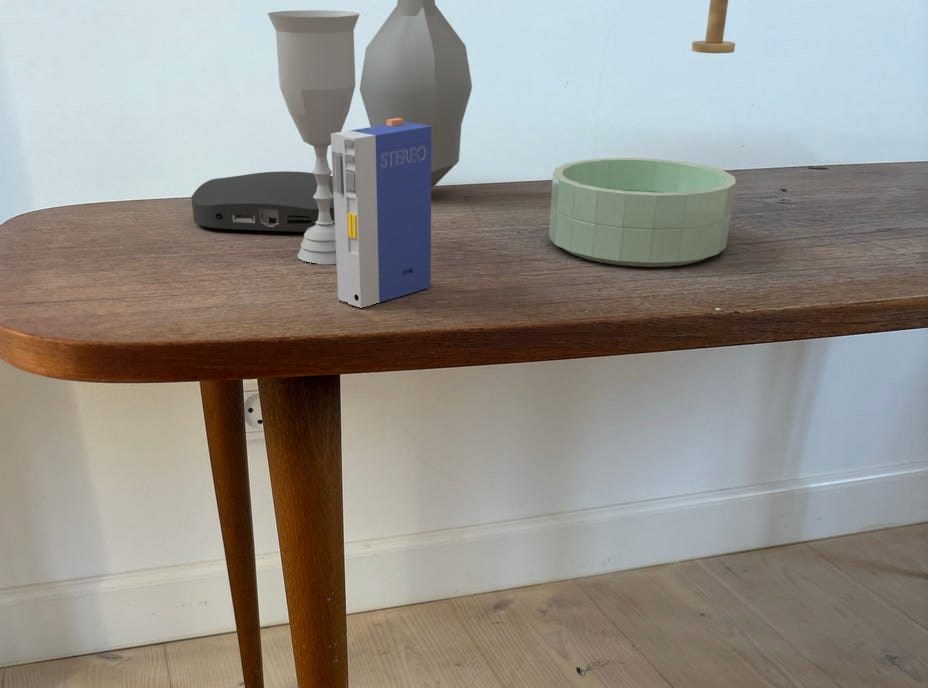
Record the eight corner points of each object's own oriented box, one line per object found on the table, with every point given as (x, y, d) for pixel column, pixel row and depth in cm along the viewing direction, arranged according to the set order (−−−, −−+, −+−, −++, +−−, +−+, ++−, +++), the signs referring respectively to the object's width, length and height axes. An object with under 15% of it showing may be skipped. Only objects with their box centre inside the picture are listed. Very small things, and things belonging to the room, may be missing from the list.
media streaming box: (365, 202, 108) (364, 170, 106) (339, 237, 96) (338, 202, 94) (226, 197, 109) (223, 166, 107) (183, 231, 97) (178, 197, 95)
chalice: (324, 241, 95) (312, 8, 84) (384, 254, 91) (378, 13, 81) (267, 259, 90) (247, 13, 79) (328, 272, 86) (315, 18, 76)
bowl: (744, 238, 97) (755, 169, 94) (694, 280, 86) (706, 202, 83) (586, 218, 103) (592, 152, 100) (521, 254, 92) (524, 180, 88)
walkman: (405, 280, 85) (404, 116, 78) (431, 287, 83) (432, 120, 76) (334, 301, 80) (326, 128, 73) (360, 309, 78) (354, 133, 72)
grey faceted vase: (467, 184, 116) (474, -158, 99) (473, 208, 106) (482, -165, 89) (365, 184, 115) (354, -160, 98) (361, 207, 106) (349, -168, 89)
